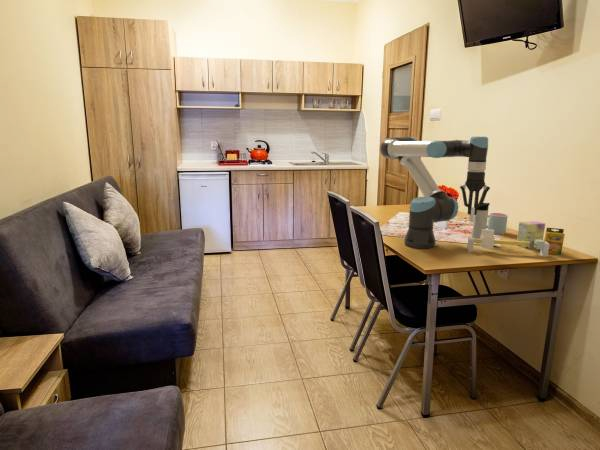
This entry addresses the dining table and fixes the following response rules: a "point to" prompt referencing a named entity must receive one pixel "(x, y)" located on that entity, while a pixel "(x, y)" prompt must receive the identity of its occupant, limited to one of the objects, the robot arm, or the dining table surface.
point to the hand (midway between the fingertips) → (471, 221)
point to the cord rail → (537, 244)
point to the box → (530, 231)
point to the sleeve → (487, 238)
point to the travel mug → (480, 220)
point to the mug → (497, 223)
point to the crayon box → (554, 240)
